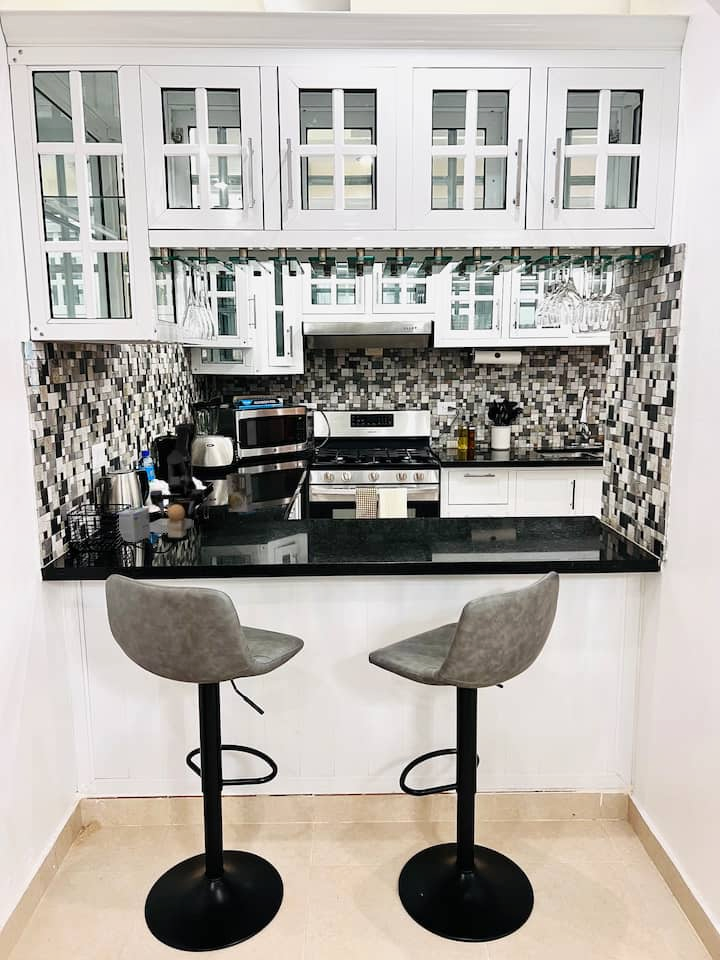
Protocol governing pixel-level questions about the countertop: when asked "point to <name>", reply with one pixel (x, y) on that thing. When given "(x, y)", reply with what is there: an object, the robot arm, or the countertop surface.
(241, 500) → the coffee box
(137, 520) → the light bulb box
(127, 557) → the countertop surface
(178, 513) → the ball
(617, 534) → the countertop surface
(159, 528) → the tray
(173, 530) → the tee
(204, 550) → the countertop surface
